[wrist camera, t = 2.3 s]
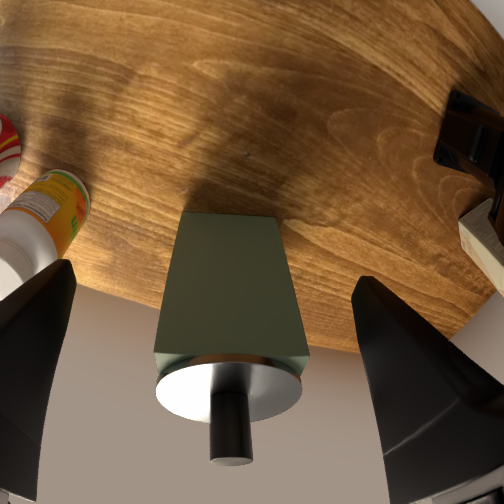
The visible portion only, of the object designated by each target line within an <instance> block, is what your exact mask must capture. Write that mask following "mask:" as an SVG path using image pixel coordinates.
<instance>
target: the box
mask: <svg viewBox="0 0 504 504" xmlns="http://www.w3.org/2000/svg"><path fill="white" fill-rule="evenodd" d="M492 203H493V199H492V198H488V199H487V200H485V201H484V202H482V203H481V204H480V205H478V206H477V207H476V208H474V209H473V210H471V211H470V212H468V213H467V214H466V215H465V216H463V217H462V218H460V219H459V220H458V224H459V232H460V239H461V245H462V248H463V249H464V251H465V252H466V253H467V254H468V255H469V256H470V257H471V258H472V260H473V261H474V262H475V263H476V264H477V265H478V266H479V268H480V269H481V270H482V271H483V272H484V274H485V275H486V276H487V277H488V278H489V280H490V281H491V282H492V283H493V285H494V286H495V287H496V288H497V290H498V291H499V292H500V294H502V296H503V297H504V248H503V246H502V245H501V244H500V242H499V240H498V236H497V234H496V232H495V231H494V229H493V227H492V225H491V224H490V222H489V220H488V219H487V217H488V213H489V211H490V210H491V207H492Z"/></svg>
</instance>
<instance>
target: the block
mask: <svg viewBox="0 0 504 504" xmlns="http://www.w3.org/2000/svg"><path fill="white" fill-rule="evenodd" d="M221 353H237V354H250V355H258V356H263V357H267V358H271V359H275V360H277V361H280V362H282V363H284V364H286V365H288V366H290V367H291V368H292V369H294V370H295V371H296V372H297V374H298V375H299V377H300V376H301V374H302V371H303V369H304V367H305V365H306V363H307V361H308V359H309V356H310V354H309V349H308V345H307V340H306V336H305V332H304V328H303V323H302V319H301V315H300V311H299V307H298V303H297V299H296V295H295V290H294V286H293V282H292V278H291V274H290V271H289V267H288V263H287V259H286V255H285V251H284V247H283V243H282V240H281V236H280V232H279V228H278V224H277V221H276V218H275V217H261V216H246V215H229V214H211V213H192V212H182V215H181V219H180V223H179V227H178V231H177V235H176V240H175V244H174V248H173V253H172V257H171V262H170V266H169V271H168V276H167V280H166V285H165V290H164V295H163V300H162V306H161V311H160V316H159V322H158V328H157V333H156V340H155V346H154V356H155V361H156V365H157V369H158V373H159V375H160V374H161V372H162V371H163V370H165V369H166V368H167V367H169V366H170V365H172V364H174V363H176V362H179V361H181V360H185V359H188V358H192V357H196V356H202V355H209V354H221ZM169 412H170V413H173V412H172V411H170V410H169ZM280 414H281V413H280Z"/></svg>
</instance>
